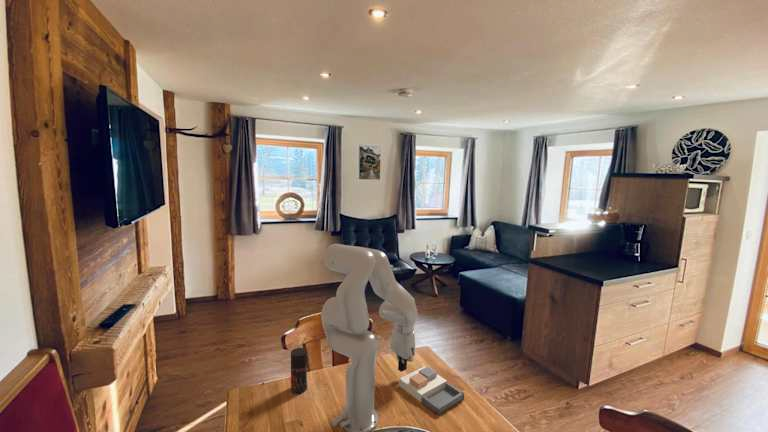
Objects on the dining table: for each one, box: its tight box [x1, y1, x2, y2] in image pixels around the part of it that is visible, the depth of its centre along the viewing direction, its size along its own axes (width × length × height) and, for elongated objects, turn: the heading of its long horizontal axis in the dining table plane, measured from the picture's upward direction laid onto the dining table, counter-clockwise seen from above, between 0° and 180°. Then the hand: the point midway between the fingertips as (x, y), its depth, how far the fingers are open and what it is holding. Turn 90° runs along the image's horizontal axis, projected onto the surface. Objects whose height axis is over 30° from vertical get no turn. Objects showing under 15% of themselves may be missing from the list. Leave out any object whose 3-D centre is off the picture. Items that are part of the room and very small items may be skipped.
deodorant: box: [290, 347, 308, 395], centre depth 127 cm, size 6×6×15 cm
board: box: [398, 365, 448, 403], centre depth 132 cm, size 14×12×3 cm
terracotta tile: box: [409, 373, 428, 389], centre depth 129 cm, size 5×5×2 cm
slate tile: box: [419, 366, 438, 381], centre depth 134 cm, size 5×5×2 cm
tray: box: [421, 381, 465, 416], centre depth 124 cm, size 14×8×2 cm, turn 129°
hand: (402, 369), depth 137 cm, fingers closed
